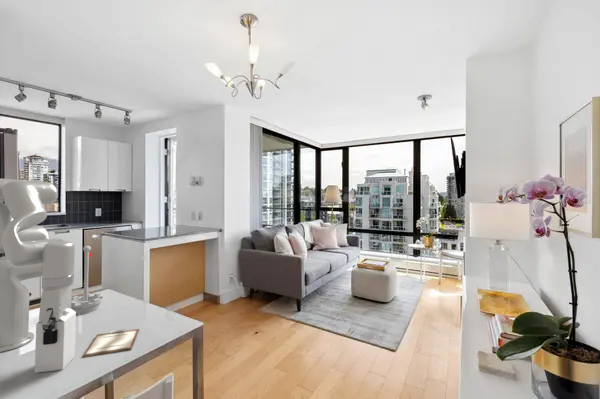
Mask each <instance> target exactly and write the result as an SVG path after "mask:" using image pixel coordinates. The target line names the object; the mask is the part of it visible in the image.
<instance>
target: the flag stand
mask: <svg viewBox="0 0 600 399" xmlns="http://www.w3.org/2000/svg"><path fill="white" fill-rule="evenodd" d="M82 250H83V252H84V273H83V274H84V276H83V278H84V279H83V295H82V296H78V295H75V296H72V300H71V309H72V310H74V311H75V312H76V315H81V314H87V313H91V312H94V311H97V310H99V309H100V308H101V303H102V302H103V300H104V297H103V296H104V295H103V294H101V293H98V292H95V293H94V294H93V295H91V293H89V264H90V262H89V261H90V259H91V257H92V256H93V253H91V252H90V251H91V250H92V247H91V245H84V246H83V248H82Z"/></svg>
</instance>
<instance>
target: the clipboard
mask: <svg viewBox="0 0 600 399" xmlns="http://www.w3.org/2000/svg"><path fill="white" fill-rule="evenodd" d="M139 332H140V329H139V328H136V329H129V330H127V329H126V328H123V329H117V330H115V329H114V330H110V332H106V333H105V332H104V333H98V334H96V335H95V337H94V338H93V340H92V341H91V343H90V344H89V345H88V347H87V348H86V350H85V352H84V353H83V354H82V358H87V357H96V356H100V355H107V354H113V353H119V352H120V353H121V352H126V351H131V350H133V346H134V344H135V341H136V339H137V337H138V334H139Z"/></svg>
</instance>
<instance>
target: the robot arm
mask: <svg viewBox="0 0 600 399" xmlns="http://www.w3.org/2000/svg"><path fill="white" fill-rule="evenodd" d="M58 192H59V191H58V189H57V187H56V186H55V185H54V184H53V183H52V182H49V181H40V180H33V179H32V180H31V179H12V178H0V254H5V255H4V256H0V353H2V352H7V351H11V350H14V349H17V348H20V347H22V346H25V345H27V344H28V343H31V342H32V341H33V340H34V339H35V334H34V333H33V332H30V331H29V329H30V328H29V325H30V324H29V322H30V321H29V320H30V317H29V316H30V291H29V289H28V288H27V287H26V286H25V285H24V284H22V281H26V280H29V279H34V278H39V277H40V278H41V289H42V292H41V298H40V305H39V314H38V322H40V323H42V326H43V327H42V328H43V345H47V344H55V343H56V342H57V334H58V329H57V330H56V327H57V321H58V320H60V318H61V317H62V316H63V315H64V311H65V310H66V309H67V308H71V300H72V297H73V296H72V286H73V285H74V282H75V278H74V277H75V255H76V254H75V251H76V250H75V249H76V248H75V247H76V246H75V243H73V242H72V241H66V240H65V239H62V238H57V237H56V238H50V234H49V232H48V230H47V228H45V227H44V226H42V225H39V224H41V223H43V222H44V221H45V220H46V219H47V217H48V213H47V209H46V208H45V206H44V205H51V204H54V203H56V202H57V201H58V197H59V193H58ZM4 202H5V203H4ZM51 318H56V319H55V320H50V319H51ZM51 322H54V324H53V326H52V324H50V323H51Z"/></svg>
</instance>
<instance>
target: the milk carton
mask: <svg viewBox="0 0 600 399" xmlns="http://www.w3.org/2000/svg"><path fill="white" fill-rule="evenodd" d="M55 319H56V318H51V319H50V320H55ZM76 320H77V314H76V312H75V311H74V310H72V309H71V308H67V309H66V310H65V311H64V315H63V316H62V317H61V318H60V320H58V321H57V327H56V330H57V329H58V334H57V342H56V343H55V344H47V345H43V328H42V327H43V326H42V323H40V322H39V321H38V322H36V324H35V347H34V348H35V349H34V350H35V353H34V355H35V356H34V373H46V372H53V371H61V370H64V369H65V368H66V367H67V366H68V365H69V364H70V362H71V361H72V360H73V359H74V358H75V356H76V326H77V324H76V323H77V321H76ZM50 324H52V326H53V324H54V322H51V323H50Z"/></svg>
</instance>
